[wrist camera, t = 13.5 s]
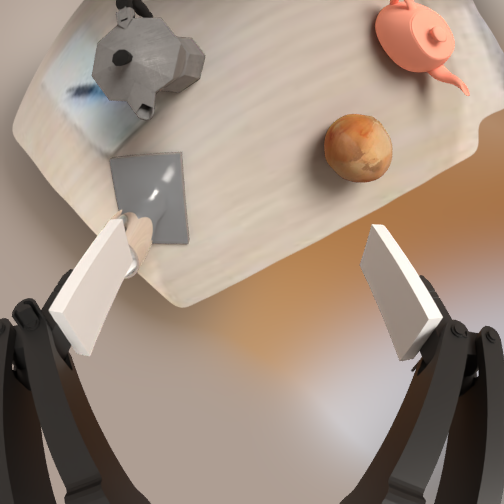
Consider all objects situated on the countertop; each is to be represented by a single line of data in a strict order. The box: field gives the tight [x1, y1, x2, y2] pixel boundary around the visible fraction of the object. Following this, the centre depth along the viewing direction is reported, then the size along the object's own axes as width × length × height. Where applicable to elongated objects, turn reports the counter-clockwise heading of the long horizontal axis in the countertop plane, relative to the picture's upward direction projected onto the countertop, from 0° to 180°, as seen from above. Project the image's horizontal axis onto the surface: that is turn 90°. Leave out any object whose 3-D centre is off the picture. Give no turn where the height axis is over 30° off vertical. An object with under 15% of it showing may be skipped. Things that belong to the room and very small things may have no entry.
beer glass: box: [104, 186, 167, 279], centre depth 36 cm, size 7×7×15 cm
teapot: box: [375, 0, 470, 96], centre depth 23 cm, size 12×18×10 cm
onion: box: [324, 114, 392, 182], centre depth 34 cm, size 10×10×10 cm
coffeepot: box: [92, 0, 205, 120], centre depth 23 cm, size 15×9×18 cm, turn 8°
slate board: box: [110, 152, 190, 244], centre depth 43 cm, size 16×12×1 cm
